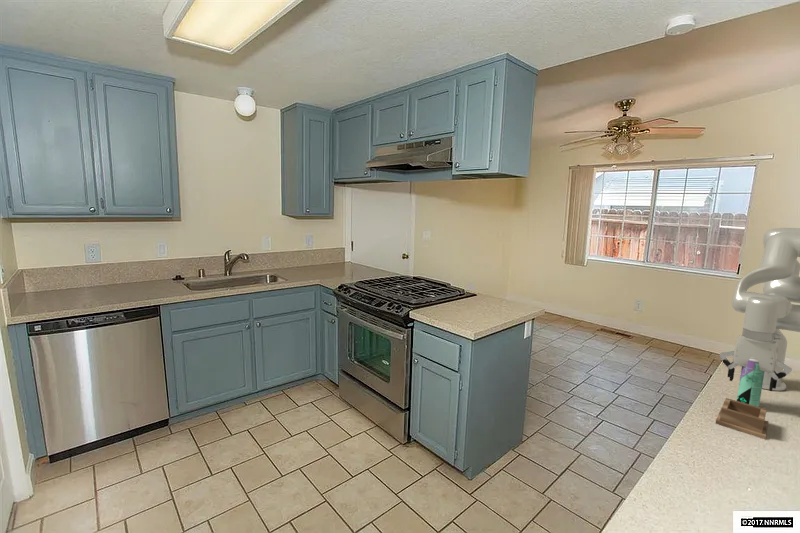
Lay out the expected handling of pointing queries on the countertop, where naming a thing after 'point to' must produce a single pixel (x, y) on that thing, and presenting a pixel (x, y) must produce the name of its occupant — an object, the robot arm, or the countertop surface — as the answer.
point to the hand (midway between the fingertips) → (750, 384)
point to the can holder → (743, 418)
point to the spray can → (750, 383)
